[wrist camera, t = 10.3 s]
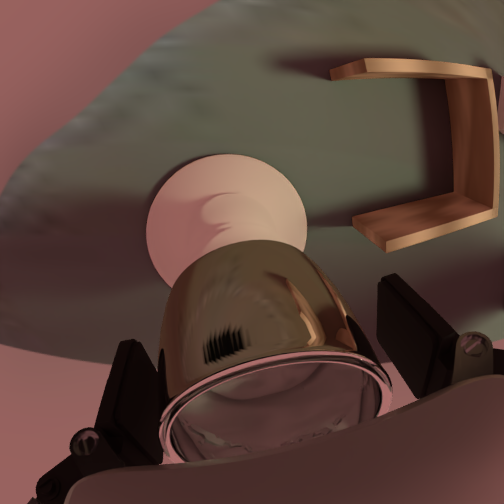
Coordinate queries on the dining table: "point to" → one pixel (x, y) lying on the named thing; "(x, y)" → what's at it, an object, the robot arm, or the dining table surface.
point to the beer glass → (257, 343)
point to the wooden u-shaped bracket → (464, 154)
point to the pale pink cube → (501, 108)
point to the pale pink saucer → (208, 186)
